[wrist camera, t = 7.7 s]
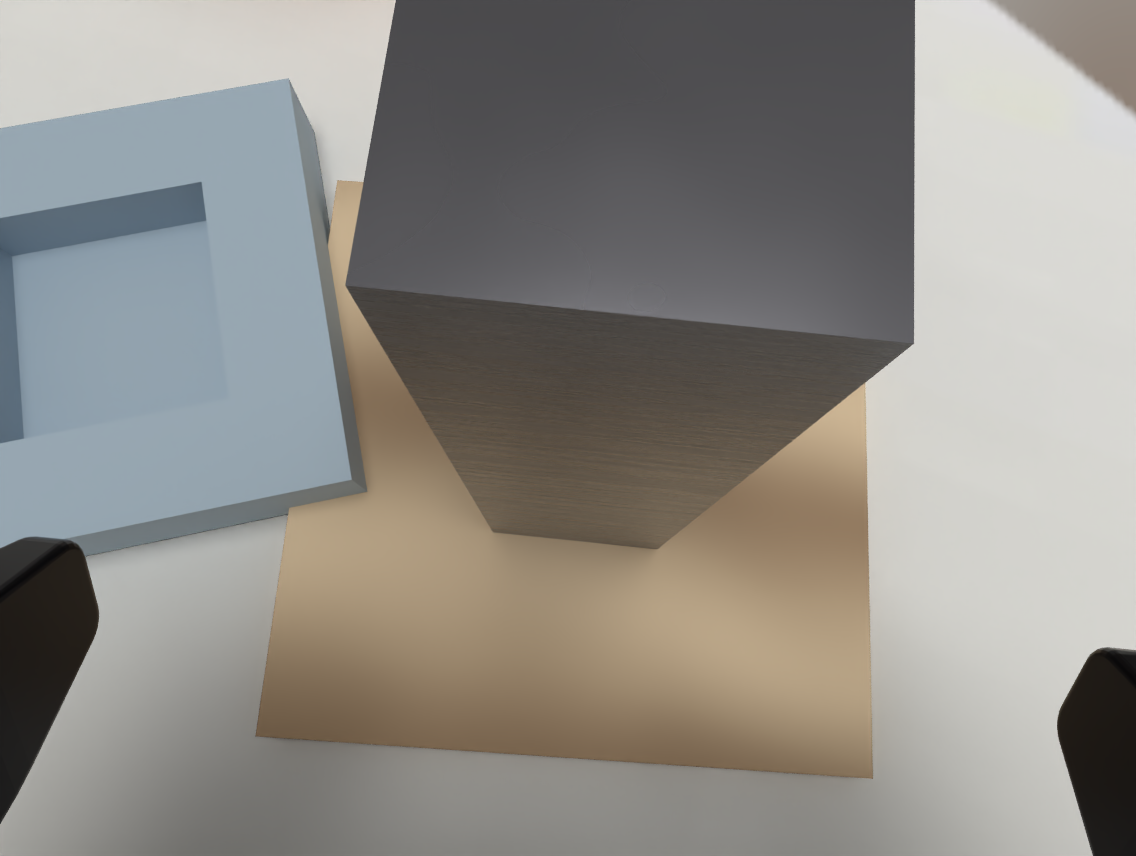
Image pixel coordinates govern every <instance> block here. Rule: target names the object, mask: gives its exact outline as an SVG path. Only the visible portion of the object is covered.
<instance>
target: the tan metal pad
mask: <svg viewBox="0 0 1136 856" xmlns="http://www.w3.org/2000/svg"><path fill="white" fill-rule="evenodd" d="M362 188H363V182H353V181H339V180H337V187H336V193H335V200H334V207H333V214H332V220H331V227H330V234H329V241H328V250H329V256H330V263H331V269H332V275H333V281H334V287H335V294H336V300H337V306H338V312H339V318H340V325H341V331H342V337H343V343H344V349H345V356H346V362H347V368H348V374H349V380H350V387H351V393H352V399H353V405H354V411H355V418H356V424H357V430H358V436H359V442H360V449H361V455H362V461H363V467H364V473H365V480H366V486H367V492H363V493H358V494H354V495H349V496H344V497H339V498H334V499H329V500H325V501H320V502H315V503H310V504H305V505H301V506H296V507H291V508H289V512H288V519H287V526H286V532H285V539H284V546H283V553H282V560H281V566H280V573H279V580H278V587H277V593H276V600H275V607H274V614H273V621H272V627H271V634H270V641H269V648H268V654H267V661H266V668H265V675H264V682H263V688H262V695H261V702H260V709H259V715H258V722H257V729H256V736H259V737H273V738H288V739H303V740H317V741H332V742H346V743H361V744H375V745H390V746H405V747H419V748H434V749H448V750H463V751H477V752H492V753H507V754H521V755H536V756H550V757H565V758H579V759H594V760H609V761H623V762H638V763H652V764H667V765H681V766H696V767H711V768H725V769H740V770H754V771H769V772H783V773H798V774H813V775H827V776H842V777H856V778H871V779H873V766H872V713H871V661H870V609H869V556H868V504H867V452H866V400H865V383H864V384H863V385H862V386H860V387H859V388H858V389H857V390H855V391H854V392H853V393H852V394H850V395H849V396H848V397H847V398H845V399H844V400H843V401H842V402H840V403H839V404H838V405H837V406H835V407H834V408H833V409H832V410H830V411H829V412H828V413H827V414H825V415H824V416H823V417H822V418H820V419H819V420H818V421H817V422H815V423H814V424H813V425H812V426H810V427H809V428H808V429H807V430H805V431H804V432H803V433H802V434H800V435H799V436H798V437H797V438H795V439H794V440H793V441H792V442H791V443H789V444H788V445H787V446H786V447H784V448H783V449H782V450H781V451H779V452H778V453H777V454H776V455H774V456H773V457H772V458H771V459H769V460H768V461H767V462H766V463H764V464H763V465H762V466H761V467H759V468H758V469H757V470H756V471H754V472H753V473H752V474H751V475H749V476H748V477H747V478H746V479H744V480H743V481H742V482H741V483H739V484H738V485H737V486H736V487H734V488H733V489H732V490H731V491H729V492H728V493H727V494H726V495H724V496H723V497H722V498H721V499H719V500H718V501H717V502H716V503H715V504H713V505H712V506H711V507H710V508H708V509H707V510H706V511H705V512H703V513H702V514H701V515H700V516H698V517H697V518H696V519H695V520H693V521H692V522H691V523H690V524H688V525H687V526H686V527H685V528H683V529H682V530H681V531H680V532H678V533H677V534H676V535H675V536H673V537H672V538H671V539H670V540H668V541H667V542H666V543H665V544H663V545H662V546H661V547H660V548H658V549H648V548H639V547H629V546H619V545H610V544H600V543H591V542H581V541H571V540H562V539H552V538H543V537H533V536H524V535H514V534H504V533H495V532H493V531H492V530H491V528H490V526H489V525H488V523H487V521H486V520H485V518H484V516H483V515H482V513H481V511H480V510H479V508H478V506H477V505H476V503H475V501H474V500H473V498H472V496H471V495H470V493H469V491H468V490H467V488H466V486H465V485H464V483H463V481H462V480H461V478H460V476H459V475H458V473H457V471H456V470H455V468H454V466H453V465H452V463H451V461H450V460H449V458H448V456H447V455H446V453H445V451H444V450H443V448H442V446H441V445H440V443H439V441H438V440H437V438H436V436H435V435H434V433H433V431H432V430H431V428H430V426H429V425H428V423H427V421H426V420H425V418H424V416H423V415H422V413H421V411H420V410H419V408H418V406H417V405H416V403H415V401H414V400H413V398H412V396H411V395H410V393H409V391H408V390H407V388H406V386H405V385H404V383H403V381H402V380H401V378H400V376H399V375H398V373H397V371H396V370H395V368H394V366H393V365H392V363H391V361H390V360H389V358H388V356H387V355H386V353H385V351H384V350H383V348H382V346H381V345H380V343H379V341H378V340H377V338H376V336H375V335H374V333H373V331H372V330H371V328H370V326H369V324H368V323H367V321H366V319H365V318H364V316H363V314H362V313H361V311H360V309H359V308H358V306H357V304H356V303H355V301H354V299H353V298H352V296H351V294H350V293H349V291H348V289H347V288H346V286H345V283H346V278H347V272H348V266H349V261H350V255H351V250H352V244H353V238H354V233H355V227H356V222H357V216H358V210H359V205H360V199H361V194H362Z"/></svg>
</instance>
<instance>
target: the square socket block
mask: <svg viewBox="0 0 1136 856" xmlns="http://www.w3.org/2000/svg"><path fill="white" fill-rule="evenodd" d="M329 234H330V226H329V220H328V214H327V208H326V201H325V195H324V189H323V183H322V177H321V171H320V165H319V158H318V152H317V146H316V140H315V134H314V131H313V129H312V126H311V124H310V122H309V120H308V118H307V116H306V114H305V112H304V110H303V108H302V106H301V103H300V101H299V99H298V97H297V95H296V93H295V91H294V89H293V87H292V85H291V82H290V80H289V78H288V79H282V80H277V81H271V82H265V83H259V84H254V85H248V86H242V87H236V88H230V89H225V90H219V91H213V92H207V93H202V94H196V95H190V96H184V97H179V98H173V99H167V100H161V101H155V102H150V103H144V104H138V105H132V106H127V107H121V108H115V109H109V110H103V111H98V112H92V113H86V114H80V115H75V116H69V117H63V118H57V119H52V120H46V121H40V122H34V123H28V124H23V125H17V126H11V127H5V128H0V548H2V547H4V546H6V545H8V544H10V543H13V542H15V541H17V540H19V539H22V538H25V537H34V536H38V537H47V538H57V539H67V540H71V541H73V542H76V543H77V544H78V545H79V546H80V547H81V548H82V550H83V552H84V555H85V556H88V555H93V554H98V553H103V552H107V551H112V550H117V549H122V548H127V547H132V546H136V545H141V544H146V543H151V542H156V541H160V540H165V539H170V538H175V537H180V536H184V535H189V534H194V533H199V532H204V531H208V530H213V529H218V528H223V527H228V526H233V525H237V524H242V523H247V522H252V521H257V520H261V519H266V518H271V517H276V516H281V515H285V514H288V512H289V508H291V507H296V506H301V505H305V504H310V503H315V502H320V501H325V500H329V499H334V498H339V497H344V496H349V495H354V494H358V493H363V492H367V486H366V480H365V473H364V467H363V461H362V455H361V449H360V442H359V436H358V430H357V424H356V418H355V411H354V405H353V399H352V393H351V387H350V380H349V374H348V368H347V362H346V356H345V349H344V343H343V337H342V331H341V325H340V318H339V312H338V306H337V300H336V294H335V287H334V281H333V275H332V269H331V263H330V256H329V250H328V241H329Z"/></svg>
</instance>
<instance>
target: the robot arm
mask: <svg viewBox="0 0 1136 856" xmlns="http://www.w3.org/2000/svg"><path fill="white" fill-rule="evenodd" d="M98 622H99V609H98V604H97V600H96V597H95V593H94V589H93V585H92V581H91V578H90V574H89V570H88V566H87V562H86V559H85V555H84V552H83V550H82V548H81V547H80V546H79V545H78V544H77V543H76V542H73V541H71V540H67V539H57V538H47V537H38V536H34V537H25V538H22V539H19V540H17V541H15V542H13V543H10V544H8V545H6V546H4V547H2V548H0V823H1V822H2V820H3V818H4V817H5V815H6V813H7V812H8V810H9V808H10V806H11V805H12V803H13V801H14V800H15V798H16V796H17V794H18V792H19V791H20V789H21V787H22V785H23V783H24V781H25V779H26V777H27V775H28V773H29V771H30V769H31V768H32V765H33V763H34V761H35V759H36V757H37V755H38V753H39V751H40V749H41V747H42V745H43V743H44V741H45V739H46V737H47V734H48V732H49V730H50V728H51V726H52V724H53V722H54V720H55V718H56V716H57V714H58V712H59V710H60V708H61V706H62V703H63V701H64V699H65V697H66V695H67V693H68V691H69V689H70V687H71V685H72V683H73V681H74V679H75V677H76V675H77V672H78V670H79V668H80V666H81V664H82V662H83V660H84V658H85V656H86V654H87V652H88V650H89V648H90V646H91V644H92V641H93V639H94V637H95V634H96V631H97V628H98ZM1057 730H1058V737H1059V742H1060V745H1061V749H1062V752H1063V755H1064V759H1065V762H1066V766H1067V769H1068V772H1069V776H1070V779H1071V783H1072V786H1073V789H1074V793H1075V796H1076V800H1077V803H1078V806H1079V810H1080V813H1081V817H1082V820H1083V823H1084V827H1085V830H1086V834H1087V837H1088V840H1089V844H1090V847H1091V851H1092V854H1093V856H1136V650H1128V649H1119V648H1109V647H1106V648H1100V649H1097V650H1096V651H1094V652H1093V653H1092V654H1090V656H1089V657H1088V659H1087V660H1086V662H1085V664H1084V666H1083V668H1082V669H1081V671H1080V673H1079V675H1078V677H1077V679H1076V680H1075V682H1074V684H1073V686H1072V688H1071V690H1070V691H1069V693H1068V695H1067V697H1066V699H1065V700H1064V702H1063V704H1062V706H1061V708H1060V711H1059V715H1058V721H1057Z"/></svg>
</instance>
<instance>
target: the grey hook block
mask: <svg viewBox="0 0 1136 856" xmlns="http://www.w3.org/2000/svg"><path fill="white" fill-rule="evenodd" d="M914 109H915V0H396V3H395V9H394V14H393V20H392V26H391V31H390V37H389V42H388V48H387V54H386V59H385V65H384V70H383V76H382V82H381V87H380V93H379V98H378V104H377V110H376V115H375V121H374V126H373V132H372V138H371V143H370V149H369V154H368V160H367V166H366V171H365V177H364V182H363V188H362V194H361V199H360V205H359V210H358V216H357V222H356V227H355V233H354V238H353V244H352V250H351V255H350V261H349V266H348V272H347V278H346V283H345V286H346V288H347V289H348V291H349V293H350V294H351V296H352V298H353V299H354V301H355V303H356V304H357V306H358V308H359V309H360V311H361V313H362V314H363V316H364V318H365V319H366V321H367V323H368V324H369V326H370V328H371V330H372V331H373V333H374V335H375V336H376V338H377V340H378V341H379V343H380V345H381V346H382V348H383V350H384V351H385V353H386V355H387V356H388V358H389V360H390V361H391V363H392V365H393V366H394V368H395V370H396V371H397V373H398V375H399V376H400V378H401V380H402V381H403V383H404V385H405V386H406V388H407V390H408V391H409V393H410V395H411V396H412V398H413V400H414V401H415V403H416V405H417V406H418V408H419V410H420V411H421V413H422V415H423V416H424V418H425V420H426V421H427V423H428V425H429V426H430V428H431V430H432V431H433V433H434V435H435V436H436V438H437V440H438V441H439V443H440V445H441V446H442V448H443V450H444V451H445V453H446V455H447V456H448V458H449V460H450V461H451V463H452V465H453V466H454V468H455V470H456V471H457V473H458V475H459V476H460V478H461V480H462V481H463V483H464V485H465V486H466V488H467V490H468V491H469V493H470V495H471V496H472V498H473V500H474V501H475V503H476V505H477V506H478V508H479V510H480V511H481V513H482V515H483V516H484V518H485V520H486V521H487V523H488V525H489V526H490V528H491V530H492V531H493V532H495V533H504V534H514V535H524V536H533V537H543V538H552V539H562V540H571V541H581V542H591V543H600V544H610V545H619V546H629V547H639V548H648V549H658V548H660V547H661V546H662V545H663V544H665V543H666V542H667V541H668V540H670V539H671V538H672V537H673V536H675V535H676V534H677V533H678V532H680V531H681V530H682V529H683V528H685V527H686V526H687V525H688V524H690V523H691V522H692V521H693V520H695V519H696V518H697V517H698V516H700V515H701V514H702V513H703V512H705V511H706V510H707V509H708V508H710V507H711V506H712V505H713V504H715V503H716V502H717V501H718V500H719V499H721V498H722V497H723V496H724V495H726V494H727V493H728V492H729V491H731V490H732V489H733V488H734V487H736V486H737V485H738V484H739V483H741V482H742V481H743V480H744V479H746V478H747V477H748V476H749V475H751V474H752V473H753V472H754V471H756V470H757V469H758V468H759V467H761V466H762V465H763V464H764V463H766V462H767V461H768V460H769V459H771V458H772V457H773V456H774V455H776V454H777V453H778V452H779V451H781V450H782V449H783V448H784V447H786V446H787V445H788V444H789V443H791V442H792V441H793V440H794V439H795V438H797V437H798V436H799V435H800V434H802V433H803V432H804V431H805V430H807V429H808V428H809V427H810V426H812V425H813V424H814V423H815V422H817V421H818V420H819V419H820V418H822V417H823V416H824V415H825V414H827V413H828V412H829V411H830V410H832V409H833V408H834V407H835V406H837V405H838V404H839V403H840V402H842V401H843V400H844V399H845V398H847V397H848V396H849V395H850V394H852V393H853V392H854V391H855V390H857V389H858V388H859V387H860V386H862V385H863V384H864V383H865V382H867V381H868V380H869V379H870V378H871V377H873V376H874V375H875V374H876V373H878V372H879V371H880V370H881V369H883V368H884V367H885V366H886V365H888V364H889V363H890V362H891V361H893V360H894V359H895V358H896V357H898V356H899V355H900V354H901V353H903V352H904V351H905V350H906V349H908V348H909V347H910V346H911V345H913V344H914Z"/></svg>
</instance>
